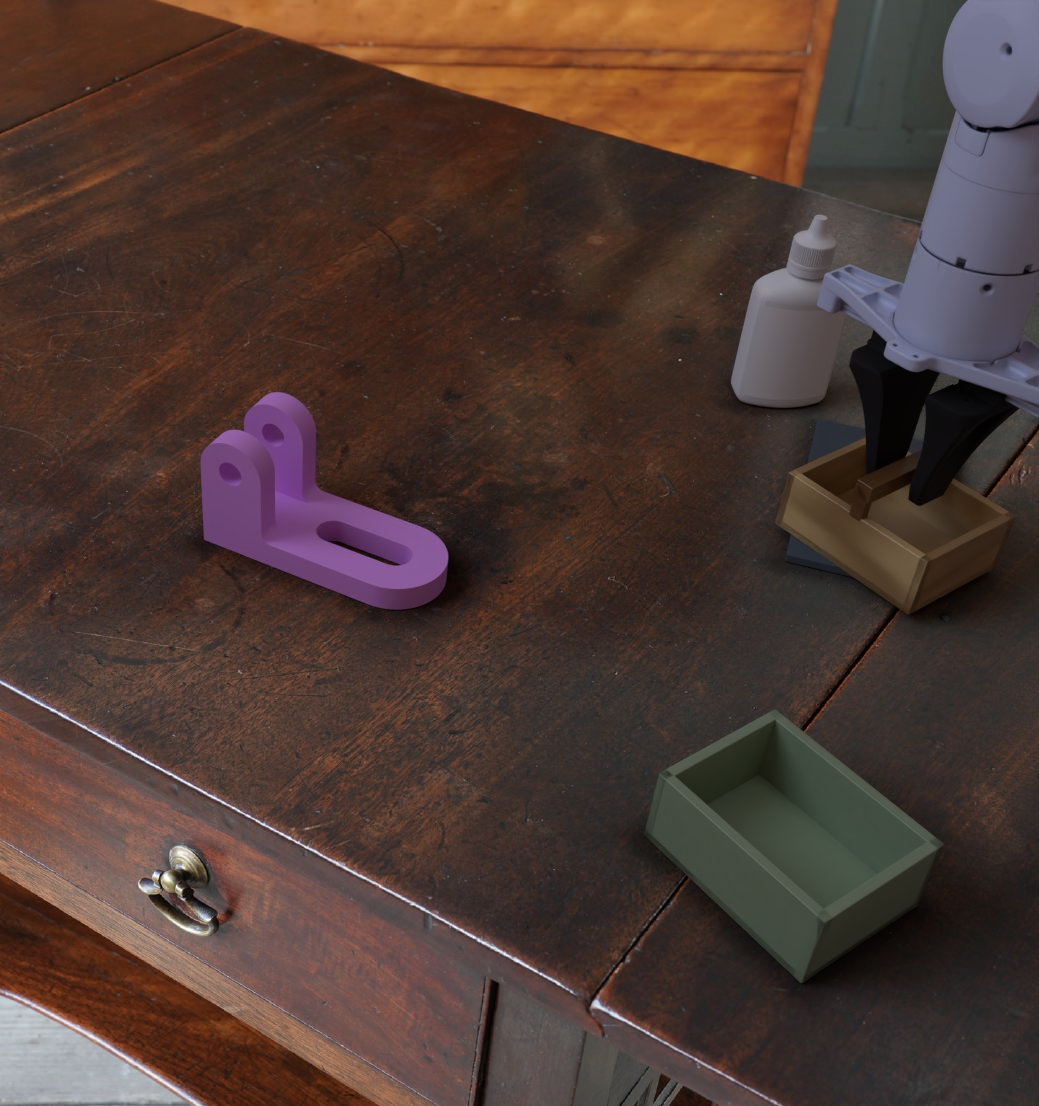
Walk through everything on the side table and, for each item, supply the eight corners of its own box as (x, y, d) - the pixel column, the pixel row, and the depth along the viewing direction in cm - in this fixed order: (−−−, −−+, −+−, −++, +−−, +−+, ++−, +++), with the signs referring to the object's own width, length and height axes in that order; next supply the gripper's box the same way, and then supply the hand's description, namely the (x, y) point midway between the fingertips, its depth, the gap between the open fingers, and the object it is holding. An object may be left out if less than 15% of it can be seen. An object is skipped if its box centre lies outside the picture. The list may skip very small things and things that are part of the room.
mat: (941, 598, 76) (944, 591, 75) (784, 561, 78) (786, 554, 78) (955, 454, 86) (957, 447, 85) (815, 425, 88) (817, 418, 88)
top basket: (995, 568, 77) (1029, 484, 73) (908, 615, 74) (938, 530, 70) (860, 482, 83) (886, 401, 79) (774, 523, 80) (796, 441, 76)
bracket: (204, 539, 79) (199, 433, 75) (258, 487, 83) (257, 384, 78) (416, 623, 74) (423, 514, 70) (464, 563, 78) (474, 457, 73)
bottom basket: (917, 906, 61) (945, 844, 58) (801, 984, 58) (825, 922, 55) (756, 770, 66) (775, 708, 64) (643, 835, 63) (658, 772, 61)
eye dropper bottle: (813, 423, 88) (863, 244, 81) (722, 399, 90) (762, 221, 83) (829, 389, 91) (879, 213, 84) (740, 366, 93) (781, 192, 86)
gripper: (802, 207, 70) (746, 439, 79) (1069, 339, 61) (972, 586, 69) (899, 174, 73) (835, 401, 82) (1168, 294, 64) (1063, 536, 72)
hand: (904, 483), depth 76 cm, fingers closed
